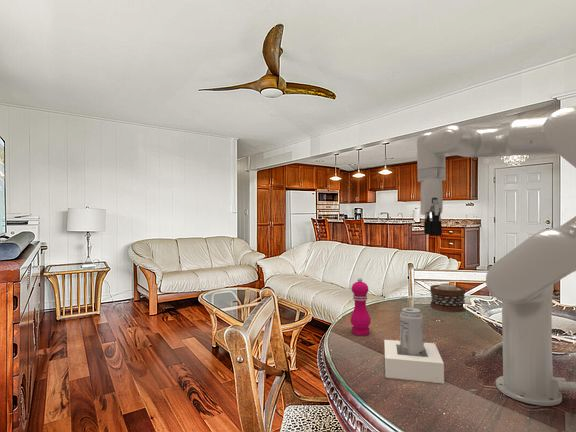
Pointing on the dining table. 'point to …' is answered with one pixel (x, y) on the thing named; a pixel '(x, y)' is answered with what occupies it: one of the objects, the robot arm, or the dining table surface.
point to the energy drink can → (411, 332)
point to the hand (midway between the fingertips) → (432, 235)
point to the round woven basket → (447, 297)
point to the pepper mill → (360, 309)
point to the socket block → (413, 363)
